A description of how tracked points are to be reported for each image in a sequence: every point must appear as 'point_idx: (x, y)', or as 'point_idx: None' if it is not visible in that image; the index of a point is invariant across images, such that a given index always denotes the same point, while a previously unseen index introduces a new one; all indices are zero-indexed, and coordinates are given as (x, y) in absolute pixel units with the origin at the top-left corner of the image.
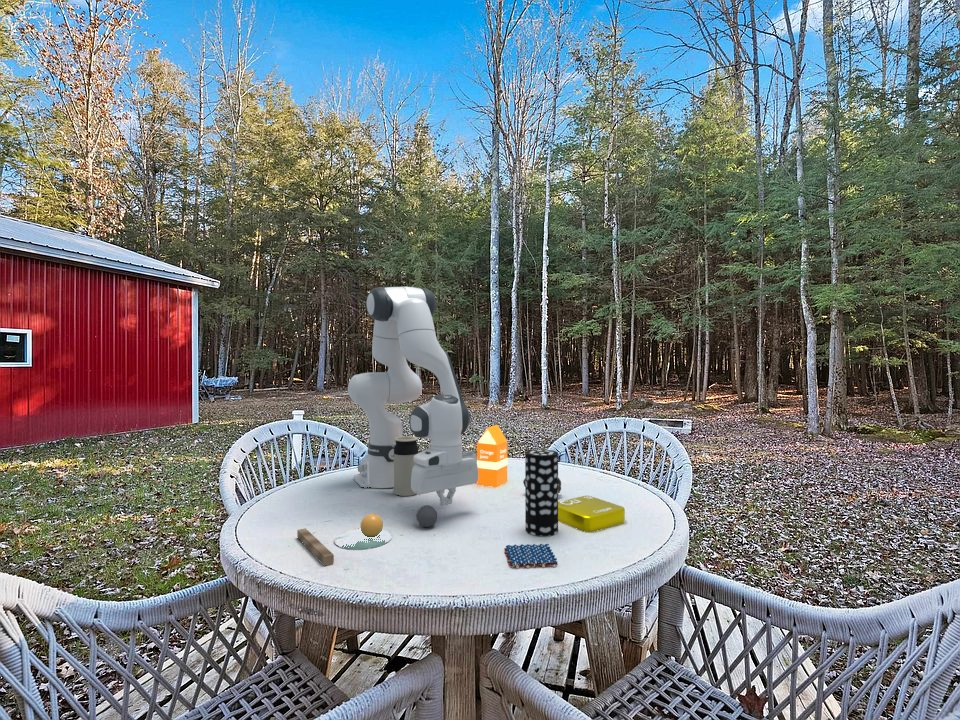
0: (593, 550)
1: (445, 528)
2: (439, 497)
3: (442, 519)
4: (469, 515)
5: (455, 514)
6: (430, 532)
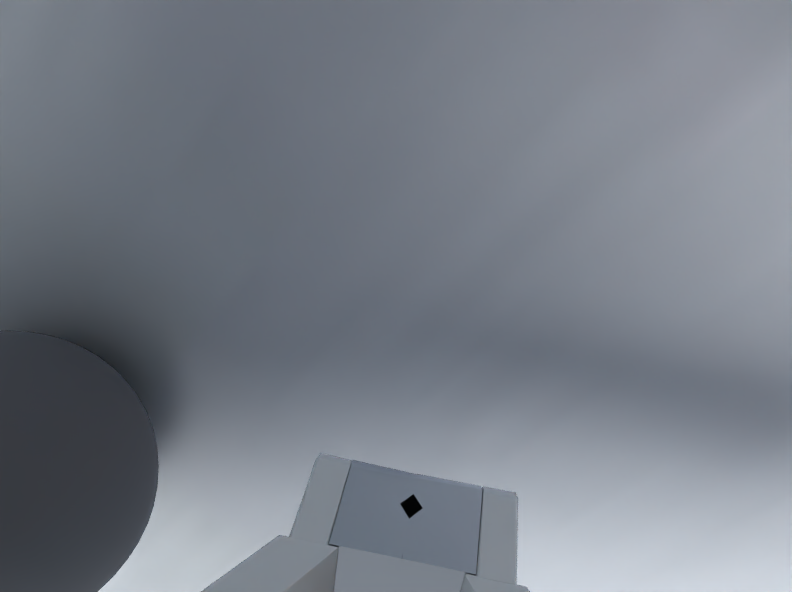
0: None
1: (220, 540)
2: (265, 557)
3: (373, 350)
4: (743, 491)
5: (657, 343)
6: None
